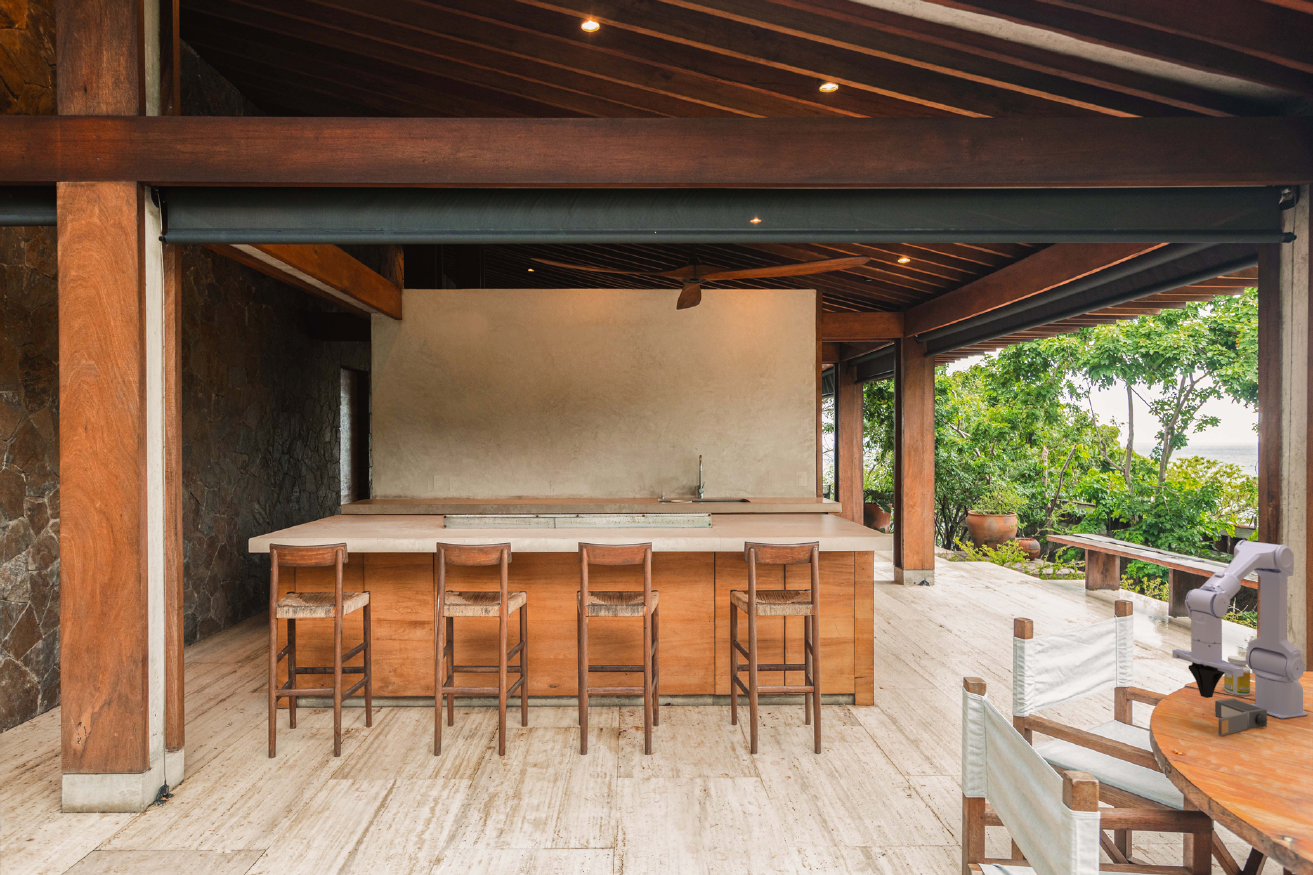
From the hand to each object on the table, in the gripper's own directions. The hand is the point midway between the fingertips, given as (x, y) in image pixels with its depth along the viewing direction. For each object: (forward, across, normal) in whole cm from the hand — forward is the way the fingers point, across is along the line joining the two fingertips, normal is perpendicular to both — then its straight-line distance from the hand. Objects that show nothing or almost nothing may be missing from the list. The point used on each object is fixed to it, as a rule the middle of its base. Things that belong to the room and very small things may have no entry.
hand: (1206, 696), depth 159 cm
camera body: (+8, -1, +13) cm, 15 cm away
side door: (+7, +3, +4) cm, 9 cm away
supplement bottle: (+8, -14, +33) cm, 37 cm away
